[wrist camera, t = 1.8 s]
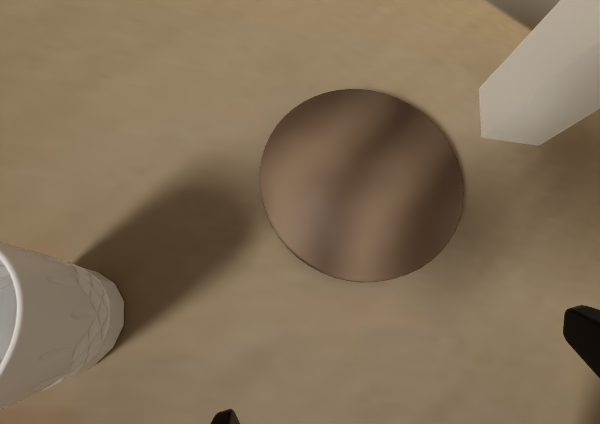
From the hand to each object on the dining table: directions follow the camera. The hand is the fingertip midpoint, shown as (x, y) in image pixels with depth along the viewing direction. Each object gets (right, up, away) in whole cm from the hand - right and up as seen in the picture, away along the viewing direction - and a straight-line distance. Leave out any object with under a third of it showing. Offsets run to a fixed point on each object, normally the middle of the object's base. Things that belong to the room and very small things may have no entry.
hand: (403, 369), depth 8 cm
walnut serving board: (+2, +7, +17) cm, 19 cm away
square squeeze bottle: (+16, +13, +20) cm, 29 cm away
